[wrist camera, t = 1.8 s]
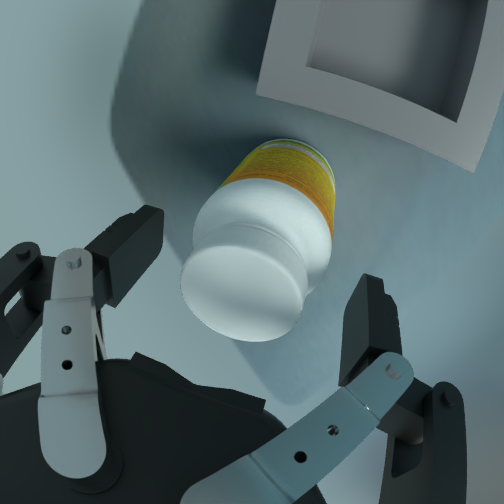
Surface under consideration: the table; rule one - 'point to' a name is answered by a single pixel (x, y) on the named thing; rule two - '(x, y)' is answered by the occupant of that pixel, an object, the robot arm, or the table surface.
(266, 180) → the supplement bottle
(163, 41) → the table surface
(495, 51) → the socket mount
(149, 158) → the table surface
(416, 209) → the table surface
